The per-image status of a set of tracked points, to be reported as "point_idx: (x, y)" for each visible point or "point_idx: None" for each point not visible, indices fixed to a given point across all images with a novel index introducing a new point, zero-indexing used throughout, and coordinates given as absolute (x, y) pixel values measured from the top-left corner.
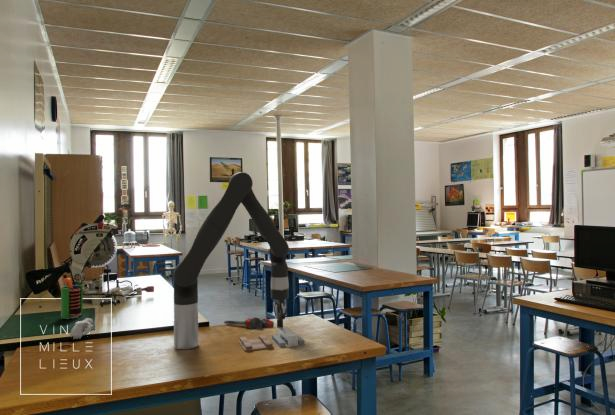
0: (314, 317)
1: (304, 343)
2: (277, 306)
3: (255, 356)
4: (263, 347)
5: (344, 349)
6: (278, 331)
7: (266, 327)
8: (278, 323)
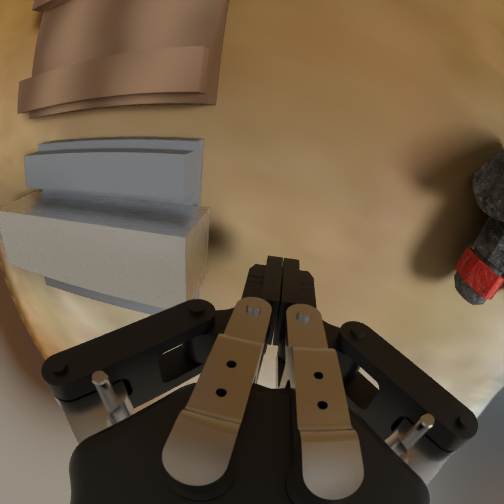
0: None
1: None
2: (172, 442)
3: None
4: (39, 64)
5: (56, 351)
6: (185, 222)
7: (475, 242)
8: (262, 282)
